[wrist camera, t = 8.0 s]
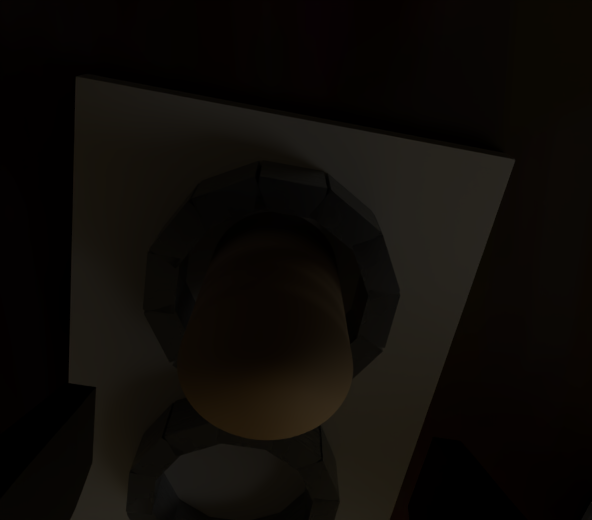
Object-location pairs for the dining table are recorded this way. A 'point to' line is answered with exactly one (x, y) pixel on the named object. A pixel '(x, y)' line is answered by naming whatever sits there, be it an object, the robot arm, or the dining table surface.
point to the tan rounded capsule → (268, 332)
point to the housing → (191, 272)
